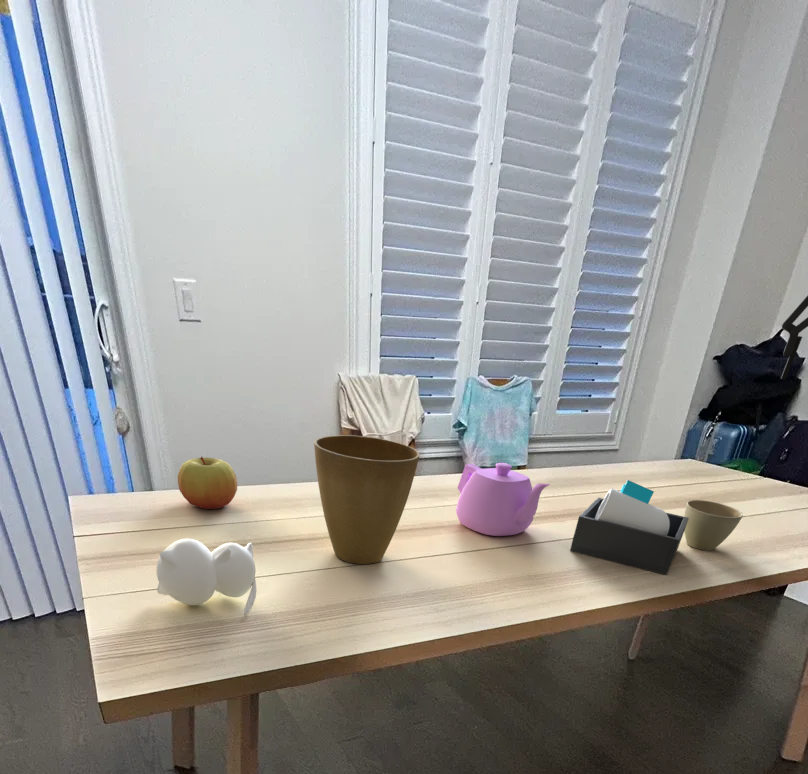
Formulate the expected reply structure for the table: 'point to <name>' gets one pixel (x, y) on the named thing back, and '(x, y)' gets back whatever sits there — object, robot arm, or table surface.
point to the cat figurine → (206, 572)
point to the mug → (633, 509)
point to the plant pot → (363, 492)
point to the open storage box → (627, 541)
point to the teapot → (496, 500)
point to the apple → (207, 482)
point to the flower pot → (709, 523)
